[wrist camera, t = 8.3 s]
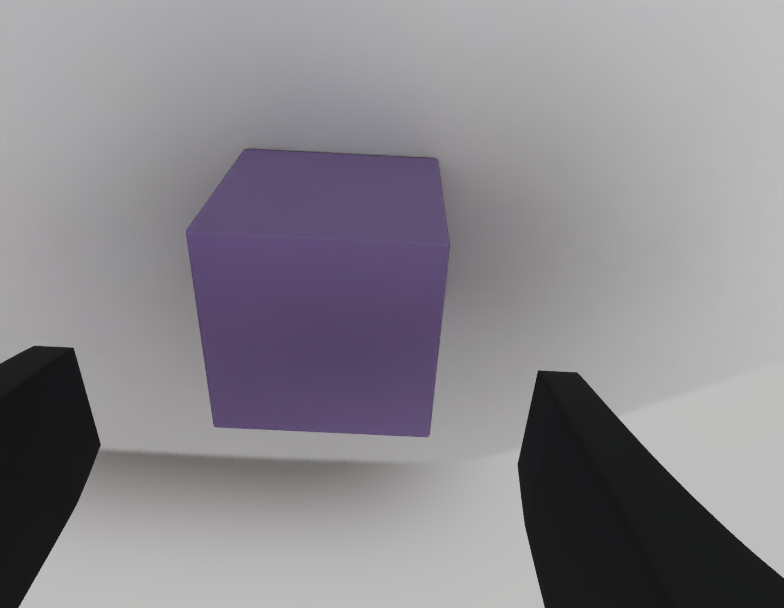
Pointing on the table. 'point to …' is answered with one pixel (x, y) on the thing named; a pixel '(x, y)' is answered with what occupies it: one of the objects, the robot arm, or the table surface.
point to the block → (322, 292)
